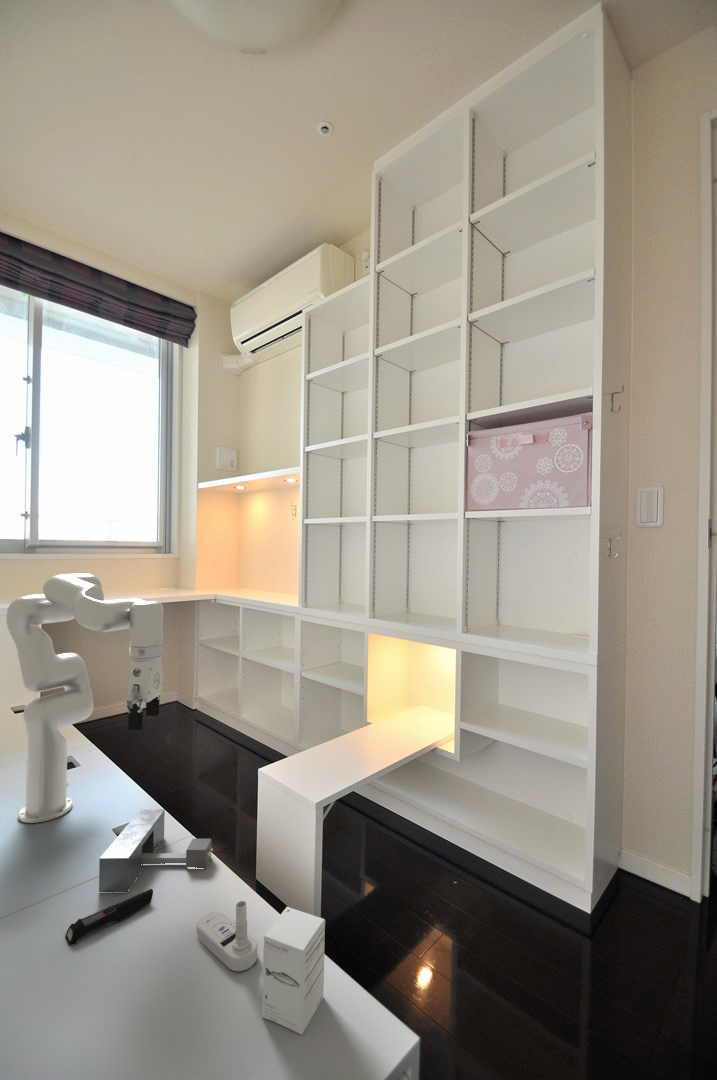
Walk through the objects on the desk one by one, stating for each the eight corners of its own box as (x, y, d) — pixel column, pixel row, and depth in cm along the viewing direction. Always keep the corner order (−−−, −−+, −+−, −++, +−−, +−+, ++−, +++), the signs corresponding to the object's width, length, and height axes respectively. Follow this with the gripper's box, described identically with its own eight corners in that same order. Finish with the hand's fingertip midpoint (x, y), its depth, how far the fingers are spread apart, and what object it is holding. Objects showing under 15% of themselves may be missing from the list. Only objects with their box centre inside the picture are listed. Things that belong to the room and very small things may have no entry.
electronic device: (216, 869, 97) (262, 903, 87) (216, 920, 97) (263, 960, 87) (191, 882, 94) (237, 919, 83) (191, 936, 93) (237, 979, 83)
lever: (108, 869, 112) (109, 849, 112) (118, 857, 116) (118, 838, 116) (208, 869, 112) (208, 849, 112) (213, 857, 116) (214, 838, 116)
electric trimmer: (155, 908, 100) (156, 892, 100) (69, 949, 89) (70, 931, 89) (148, 899, 103) (149, 883, 103) (64, 937, 92) (64, 920, 92)
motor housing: (98, 893, 104) (99, 858, 104) (140, 838, 124) (140, 809, 124) (127, 893, 104) (128, 858, 104) (164, 838, 124) (164, 809, 124)
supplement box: (260, 1019, 76) (261, 934, 76) (286, 981, 83) (287, 904, 83) (302, 1038, 73) (303, 950, 73) (325, 997, 80) (326, 917, 80)
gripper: (146, 659, 113) (144, 735, 112) (174, 645, 130) (172, 711, 130) (113, 659, 113) (111, 735, 112) (145, 645, 130) (144, 710, 130)
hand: (144, 722), depth 121 cm, fingers open, 9 cm apart
